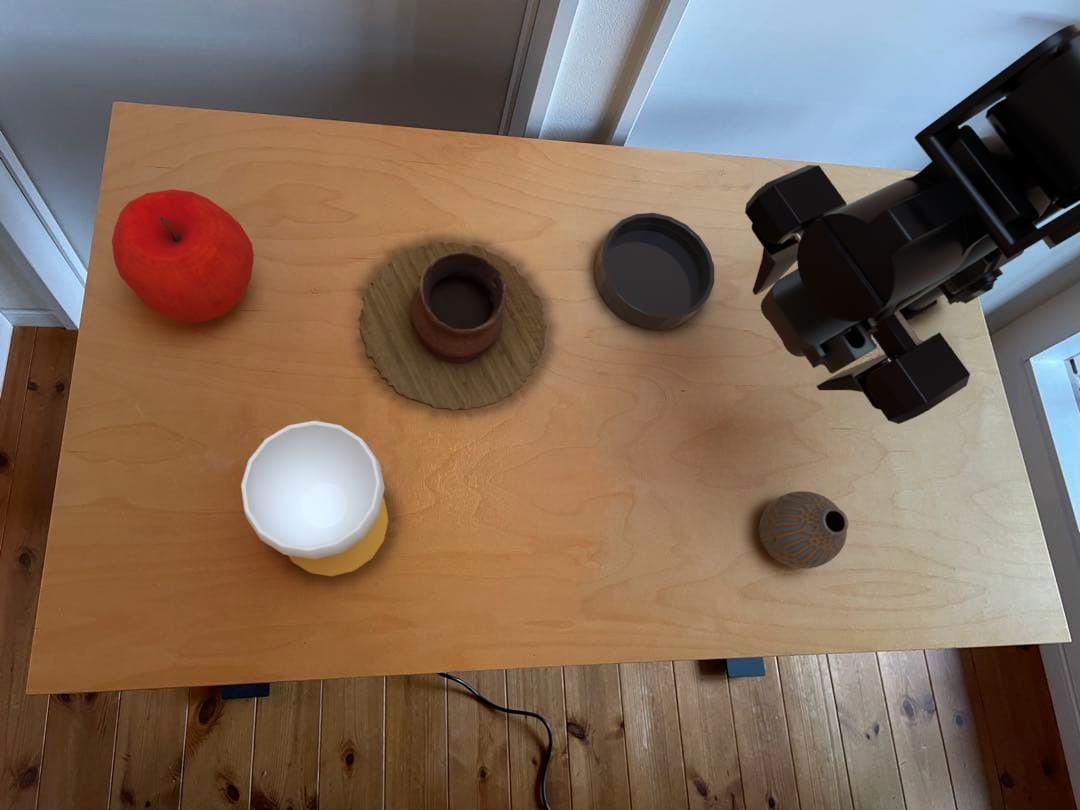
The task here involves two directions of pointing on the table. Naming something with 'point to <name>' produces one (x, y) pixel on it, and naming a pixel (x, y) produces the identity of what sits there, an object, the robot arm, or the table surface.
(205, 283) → the apple
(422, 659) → the table surface
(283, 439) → the cup
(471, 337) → the ceramic pot
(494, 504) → the table surface
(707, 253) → the pan
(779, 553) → the vase
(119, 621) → the table surface
